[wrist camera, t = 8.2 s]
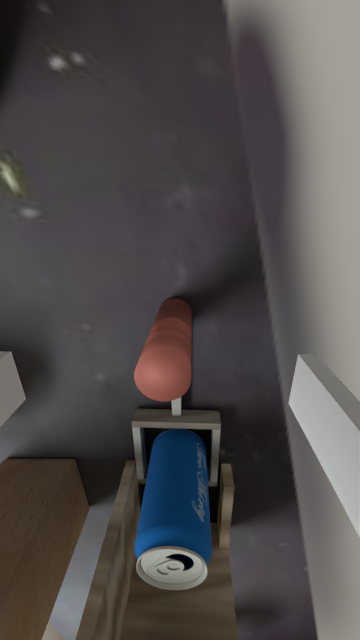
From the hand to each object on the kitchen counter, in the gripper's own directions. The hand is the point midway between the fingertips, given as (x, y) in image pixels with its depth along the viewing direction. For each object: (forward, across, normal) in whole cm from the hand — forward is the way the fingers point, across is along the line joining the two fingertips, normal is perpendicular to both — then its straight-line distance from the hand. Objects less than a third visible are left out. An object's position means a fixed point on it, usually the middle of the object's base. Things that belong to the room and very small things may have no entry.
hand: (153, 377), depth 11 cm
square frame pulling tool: (+13, 0, -12) cm, 17 cm away
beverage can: (+13, 0, -19) cm, 23 cm away
